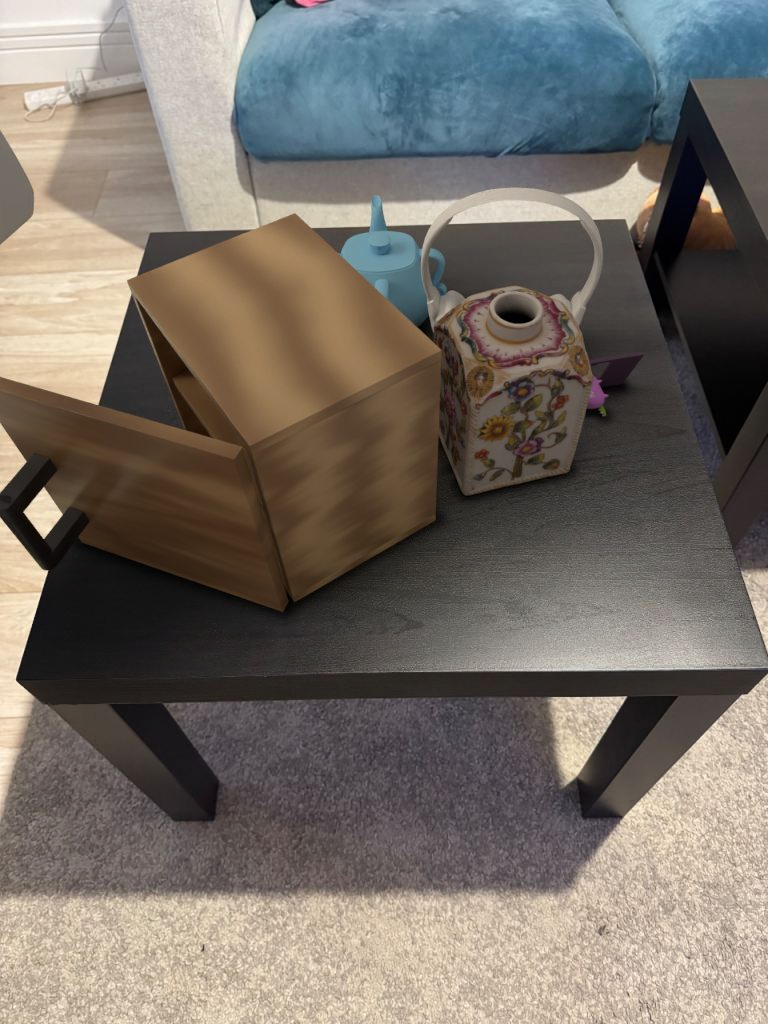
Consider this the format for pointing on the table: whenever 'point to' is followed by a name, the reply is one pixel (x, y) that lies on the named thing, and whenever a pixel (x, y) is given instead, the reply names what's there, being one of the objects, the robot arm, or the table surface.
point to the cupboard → (302, 391)
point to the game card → (611, 376)
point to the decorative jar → (510, 388)
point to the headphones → (452, 298)
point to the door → (137, 493)
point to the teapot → (393, 265)
